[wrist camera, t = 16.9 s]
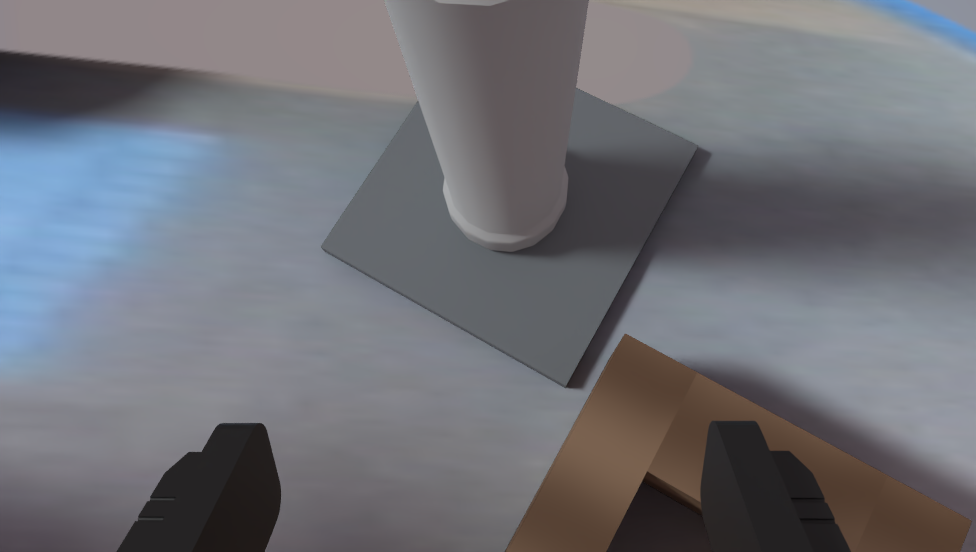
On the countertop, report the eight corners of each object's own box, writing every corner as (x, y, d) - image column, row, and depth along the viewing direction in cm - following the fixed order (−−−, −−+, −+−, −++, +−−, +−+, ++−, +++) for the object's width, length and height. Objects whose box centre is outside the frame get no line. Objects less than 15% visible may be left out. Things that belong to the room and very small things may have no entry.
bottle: (559, 139, 31) (646, -976, 7) (573, 250, 30) (741, -690, 6) (443, 152, 31) (156, -896, 8) (451, 263, 30) (129, -602, 6)
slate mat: (565, 387, 29) (565, 386, 28) (324, 251, 31) (320, 247, 31) (695, 151, 31) (698, 145, 31) (463, 41, 34) (462, 34, 33)
